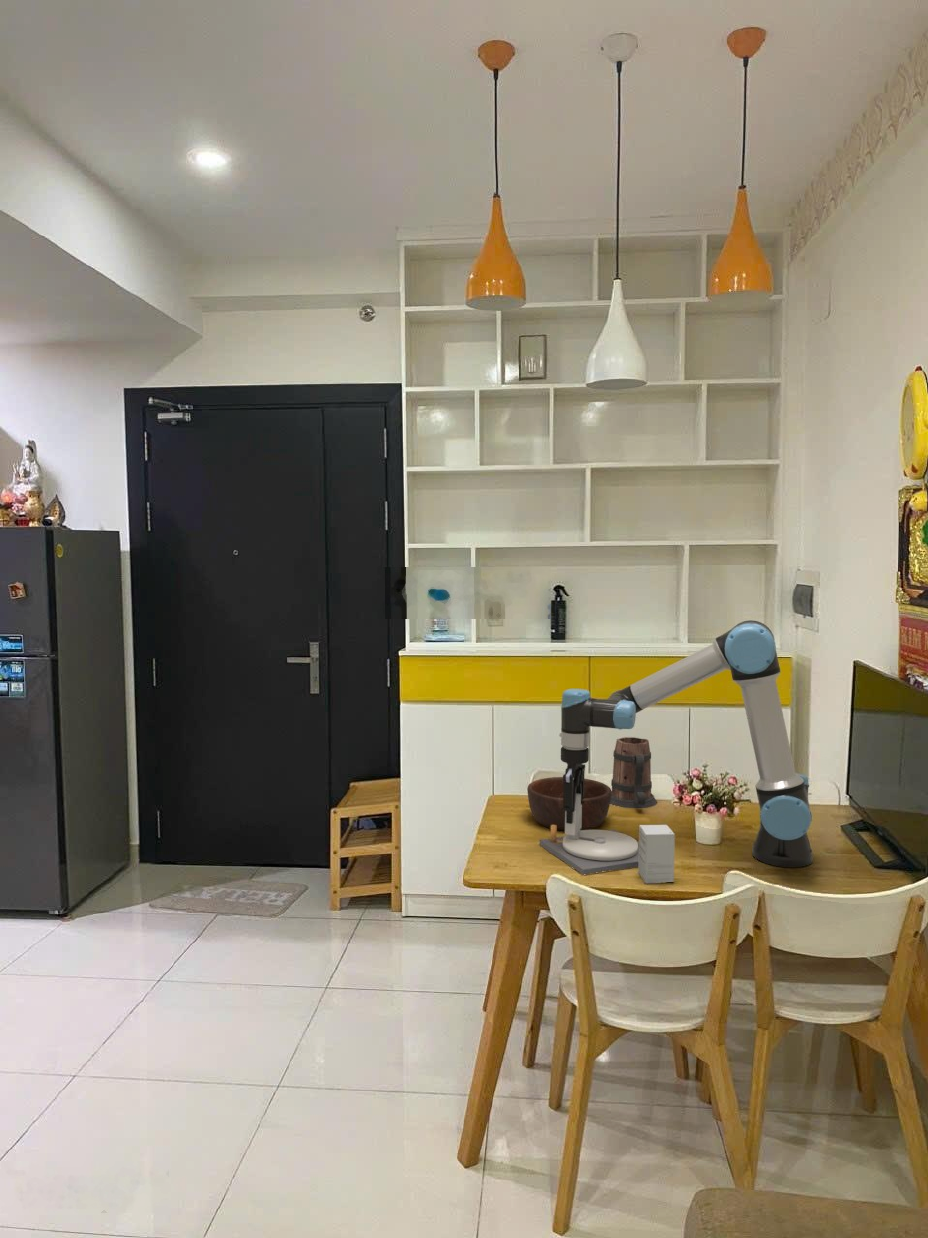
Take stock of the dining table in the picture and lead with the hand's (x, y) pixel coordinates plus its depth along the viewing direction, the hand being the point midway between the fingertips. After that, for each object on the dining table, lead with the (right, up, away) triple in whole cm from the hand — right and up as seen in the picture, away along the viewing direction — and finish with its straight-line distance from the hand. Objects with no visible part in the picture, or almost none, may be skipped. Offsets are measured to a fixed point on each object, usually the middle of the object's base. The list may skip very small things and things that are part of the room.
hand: (573, 830), depth 240 cm
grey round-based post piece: (+7, -4, -3) cm, 8 cm away
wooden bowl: (+2, -3, +26) cm, 26 cm away
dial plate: (+7, -6, -2) cm, 9 cm away
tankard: (+25, -2, +44) cm, 50 cm away
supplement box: (+18, -7, -19) cm, 28 cm away
